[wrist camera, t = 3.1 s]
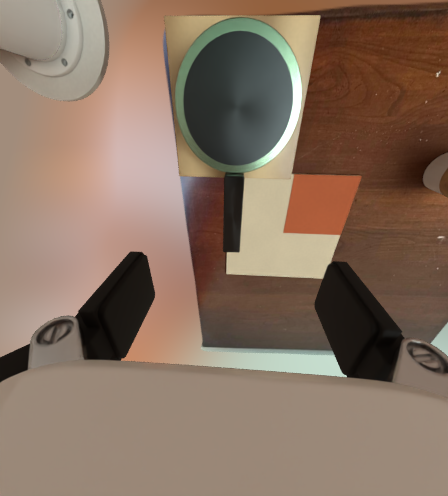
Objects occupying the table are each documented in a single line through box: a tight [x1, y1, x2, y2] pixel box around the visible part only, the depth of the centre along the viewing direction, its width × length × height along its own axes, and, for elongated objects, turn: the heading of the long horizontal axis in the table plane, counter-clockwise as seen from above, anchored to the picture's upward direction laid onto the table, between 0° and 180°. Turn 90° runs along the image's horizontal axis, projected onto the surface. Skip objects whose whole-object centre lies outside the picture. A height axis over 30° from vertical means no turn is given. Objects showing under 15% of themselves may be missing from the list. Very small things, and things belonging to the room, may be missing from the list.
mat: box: [226, 174, 362, 278], centre depth 40 cm, size 22×22×1 cm
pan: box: [175, 17, 302, 253], centre depth 19 cm, size 18×10×4 cm, turn 179°
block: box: [164, 15, 320, 179], centre depth 24 cm, size 12×12×14 cm
